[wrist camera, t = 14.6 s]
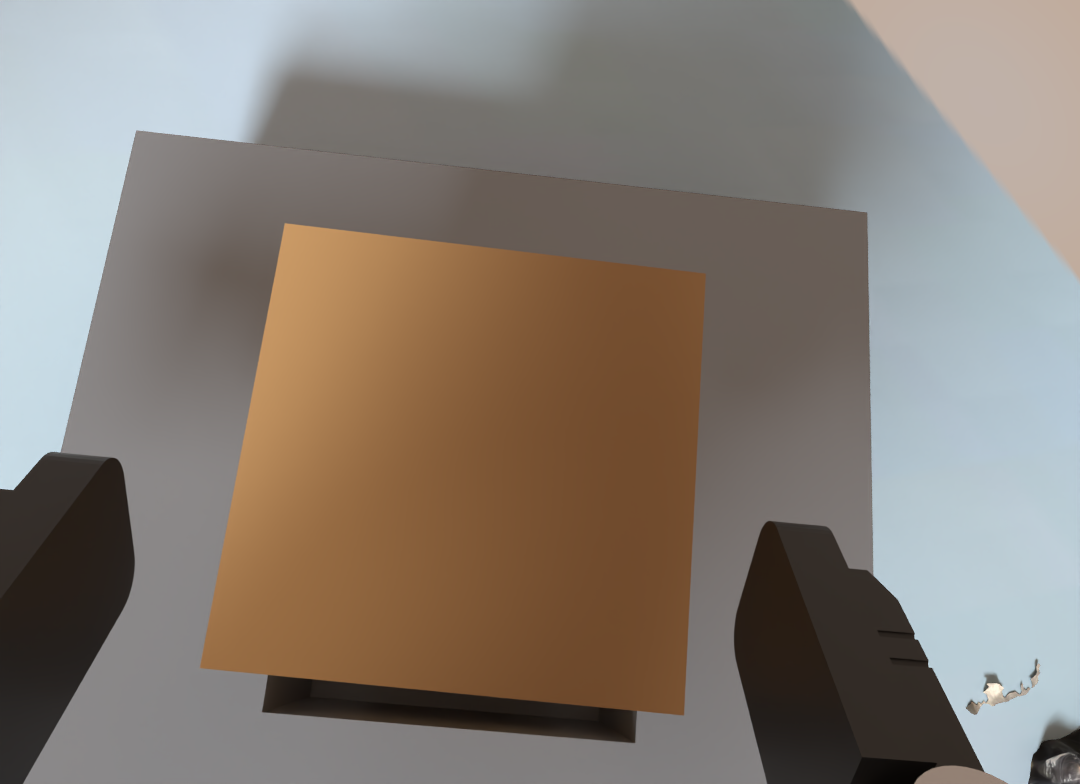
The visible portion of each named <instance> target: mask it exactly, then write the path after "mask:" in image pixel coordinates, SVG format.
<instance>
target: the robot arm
mask: <svg viewBox="0 0 1080 784" xmlns="http://www.w3.org/2000/svg"><path fill="white" fill-rule="evenodd" d="M134 570H135V554H134V546H133V538H132V531H131V523H130V515H129V508H128V500H127V493H126V485H125V477H124V472H123V468H122V465H121V463H120V462H119V460H118V459H116V458H112V457H102V456H91V455H80V454H70V453H59V452H50V453H47V454H46V455H44V456H43V457H42V458H41V459H40V460H39V462H38V463H37V464H36V465H35V466H34V467H33V468H32V470H31V471H30V472H29V473H28V474H27V475H26V476H25V478H24V479H23V480H22V481H21V482H20V483H19V484H18V486H17V487H16V488H15V489H14V490H5V489H0V784H23V783H24V781H25V779H26V777H27V776H28V774H29V772H30V771H31V769H32V767H33V765H34V764H35V762H36V760H37V758H38V757H39V755H40V753H41V751H42V750H43V748H44V746H45V744H46V743H47V741H48V739H49V738H50V736H51V734H52V732H53V731H54V729H55V727H56V725H57V724H58V722H59V720H60V718H61V717H62V715H63V713H64V711H65V710H66V708H67V706H68V704H69V703H70V701H71V699H72V698H73V696H74V694H75V692H76V691H77V689H78V687H79V685H80V684H81V682H82V680H83V678H84V677H85V675H86V673H87V671H88V670H89V668H90V666H91V665H92V663H93V661H94V659H95V658H96V656H97V654H98V652H99V651H100V649H101V647H102V645H103V644H104V642H105V640H106V638H107V637H108V635H109V633H110V631H111V630H112V628H113V626H114V625H115V623H116V621H117V619H118V618H119V616H120V614H121V612H122V611H123V609H124V607H125V605H126V603H127V600H128V598H129V595H130V591H131V588H132V583H133V578H134ZM914 634H915V633H914V631H913V629H912V627H911V625H910V623H909V621H908V619H907V617H906V615H905V613H904V611H903V609H902V607H901V605H900V603H899V601H898V600H897V599H896V598H895V597H894V596H893V595H892V594H891V593H890V592H889V591H888V590H887V589H886V588H885V587H884V586H883V585H882V584H881V583H880V582H879V581H878V580H877V579H876V578H875V577H874V576H873V575H872V574H871V573H870V572H869V571H868V570H861V569H850V568H848V565H847V563H846V561H845V559H844V557H843V554H842V552H841V550H840V548H839V546H838V543H837V541H836V539H835V537H834V535H833V533H832V531H831V530H830V529H829V528H828V527H827V526H819V525H808V524H798V523H787V522H776V521H768V522H766V523H765V524H764V526H763V527H762V529H761V531H760V534H759V537H758V541H757V544H756V548H755V551H754V554H753V558H752V561H751V564H750V568H749V571H748V575H747V578H746V581H745V585H744V588H743V592H742V595H741V598H740V602H739V605H738V609H737V613H736V618H735V626H734V651H735V659H736V663H737V667H738V671H739V675H740V679H741V683H742V687H743V691H744V695H745V699H746V703H747V706H748V710H749V714H750V718H751V722H752V726H753V730H754V734H755V738H756V742H757V746H758V750H759V754H760V757H761V761H762V765H763V769H764V773H765V777H766V781H767V784H1007V783H1006V782H1004V781H1002V780H1000V779H998V778H996V777H994V776H992V775H990V774H987V773H985V772H984V770H983V768H982V766H981V764H980V762H979V760H978V758H977V756H976V754H975V752H974V750H973V748H972V746H971V744H970V742H969V740H968V738H967V736H966V734H965V732H964V730H963V728H962V726H961V724H960V722H959V720H958V718H957V716H956V714H955V712H954V710H953V708H952V706H951V704H950V703H949V701H948V699H947V697H946V695H945V693H944V691H943V689H942V687H941V685H940V683H939V681H938V679H937V677H936V675H935V673H934V671H933V669H932V668H929V667H928V659H927V657H926V655H925V653H924V651H923V649H922V647H921V645H920V643H919V641H918V640H915V639H914Z"/></svg>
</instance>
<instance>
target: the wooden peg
mask: <svg viewBox="0 0 1080 784" xmlns="http://www.w3.org/2000/svg"><path fill="white" fill-rule="evenodd" d="M705 281H706V274H705V273H697V272H688V271H680V270H672V269H663V268H655V267H647V266H638V265H630V264H622V263H613V262H605V261H596V260H588V259H580V258H571V257H563V256H555V255H546V254H538V253H529V252H521V251H513V250H504V249H496V248H488V247H479V246H471V245H463V244H454V243H446V242H437V241H429V240H421V239H412V238H404V237H396V236H387V235H379V234H371V233H362V232H354V231H345V230H337V229H329V228H320V227H312V226H304V225H295V224H287V223H285V225H284V230H283V236H282V241H281V246H280V251H279V257H278V262H277V267H276V272H275V277H274V283H273V288H272V293H271V298H270V304H269V309H268V314H267V319H266V324H265V330H264V335H263V340H262V345H261V351H260V356H259V361H258V366H257V371H256V377H255V382H254V387H253V392H252V397H251V403H250V408H249V413H248V418H247V424H246V429H245V434H244V439H243V444H242V450H241V455H240V460H239V465H238V471H237V476H236V481H235V486H234V491H233V497H232V502H231V507H230V512H229V518H228V523H227V528H226V533H225V538H224V544H223V549H222V554H221V559H220V564H219V570H218V575H217V580H216V585H215V591H214V596H213V601H212V606H211V611H210V617H209V622H208V627H207V632H206V638H205V643H204V648H203V653H202V658H201V664H200V668H203V669H213V670H223V671H233V672H244V673H254V674H264V675H274V676H285V677H295V678H305V679H315V680H325V681H336V682H346V683H356V684H366V685H377V686H387V687H397V688H407V689H418V690H428V691H438V692H448V693H458V694H469V695H479V696H489V697H499V698H510V699H520V700H530V701H540V702H551V703H561V704H571V705H581V706H591V707H602V708H612V709H622V710H632V711H643V712H653V713H663V714H673V715H683V716H684V707H685V686H686V666H687V646H688V626H689V605H690V585H691V565H692V544H693V524H694V504H695V484H696V463H697V443H698V423H699V403H700V382H701V362H702V342H703V322H704V301H705Z"/></svg>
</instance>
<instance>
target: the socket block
mask: <svg viewBox="0 0 1080 784" xmlns="http://www.w3.org/2000/svg"><path fill="white" fill-rule="evenodd" d="M285 223H287V224H295V225H304V226H312V227H320V228H329V229H337V230H345V231H354V232H362V233H371V234H379V235H387V236H396V237H404V238H412V239H421V240H429V241H437V242H446V243H454V244H463V245H471V246H479V247H488V248H496V249H504V250H513V251H521V252H529V253H538V254H546V255H555V256H563V257H571V258H580V259H588V260H596V261H605V262H613V263H622V264H630V265H638V266H647V267H655V268H663V269H672V270H680V271H688V272H697V273H705V274H706V281H705V301H704V322H703V342H702V362H701V382H700V403H699V423H698V443H697V463H696V484H695V504H694V524H693V544H692V565H691V585H690V605H689V626H688V646H687V666H686V686H685V707H684V716H683V715H673V714H663V713H653V712H643V711H632V710H622V709H612V708H602V707H591V706H581V705H571V704H561V703H551V702H540V701H530V700H520V699H510V698H499V697H489V696H479V695H469V694H458V693H448V692H438V691H428V690H418V689H407V688H397V687H387V686H377V685H366V684H356V683H346V682H336V681H325V680H315V679H305V678H295V677H285V676H274V675H264V674H254V673H244V672H233V671H223V670H213V669H203V668H200V664H201V658H202V653H203V648H204V643H205V638H206V632H207V627H208V622H209V617H210V611H211V606H212V601H213V596H214V591H215V585H216V580H217V575H218V570H219V564H220V559H221V554H222V549H223V544H224V538H225V533H226V528H227V523H228V518H229V512H230V507H231V502H232V497H233V491H234V486H235V481H236V476H237V471H238V465H239V460H240V455H241V450H242V444H243V439H244V434H245V429H246V424H247V418H248V413H249V408H250V403H251V397H252V392H253V387H254V382H255V377H256V371H257V366H258V361H259V356H260V351H261V345H262V340H263V335H264V330H265V324H266V319H267V314H268V309H269V304H270V298H271V293H272V288H273V283H274V277H275V272H276V267H277V262H278V257H279V251H280V246H281V241H282V236H283V230H284V225H285ZM61 453H70V454H80V455H91V456H102V457H112V458H116V459H118V460H119V462H120V463H121V465H122V468H123V472H124V477H125V485H126V493H127V500H128V508H129V515H130V523H131V531H132V538H133V546H134V554H135V570H134V578H133V583H132V588H131V591H130V595H129V598H128V600H127V603H126V605H125V607H124V609H123V611H122V612H121V614H120V616H119V618H118V619H117V621H116V623H115V625H114V626H113V628H112V630H111V631H110V633H109V635H108V637H107V638H106V640H105V642H104V644H103V645H102V647H101V649H100V651H99V652H98V654H97V656H96V658H95V659H94V661H93V663H92V665H91V666H90V668H89V670H88V671H87V673H86V675H85V677H84V678H83V680H82V682H81V684H80V685H79V687H78V689H77V691H76V692H75V694H74V696H73V698H72V699H71V701H70V703H69V704H68V706H67V708H66V710H65V711H64V713H63V715H62V717H61V718H60V720H59V722H58V724H57V725H56V727H55V729H54V731H53V732H52V734H51V736H50V738H49V739H48V741H47V743H46V744H45V746H44V748H43V750H42V751H41V753H40V755H39V757H38V758H37V760H36V762H35V764H34V765H33V767H32V769H31V771H30V772H29V774H28V776H27V777H26V779H25V781H24V783H23V784H767V781H766V777H765V773H764V769H763V765H762V761H761V757H760V754H759V750H758V746H757V742H756V738H755V734H754V730H753V726H752V722H751V718H750V714H749V710H748V706H747V703H746V699H745V695H744V691H743V687H742V683H741V679H740V675H739V671H738V667H737V663H736V659H735V651H734V626H735V618H736V613H737V609H738V605H739V602H740V598H741V595H742V592H743V588H744V585H745V581H746V578H747V575H748V571H749V568H750V564H751V561H752V558H753V554H754V551H755V548H756V544H757V541H758V537H759V534H760V531H761V529H762V527H763V526H764V524H765V523H766V522H768V521H776V522H787V523H798V524H808V525H819V526H827V527H828V528H829V529H830V530H831V531H832V533H833V535H834V537H835V539H836V541H837V543H838V546H839V548H840V550H841V552H842V554H843V557H844V559H845V561H846V563H847V565H848V568H850V569H861V570H868V571H869V572H870V573H871V574H872V575H873V530H872V471H871V413H870V354H869V296H868V237H867V213H866V212H857V211H848V210H839V209H830V208H821V207H812V206H804V205H795V204H786V203H777V202H768V201H759V200H750V199H741V198H732V197H723V196H715V195H706V194H697V193H688V192H679V191H670V190H661V189H652V188H643V187H634V186H626V185H617V184H608V183H599V182H590V181H581V180H572V179H563V178H554V177H546V176H537V175H528V174H519V173H510V172H501V171H492V170H483V169H474V168H465V167H457V166H448V165H439V164H430V163H421V162H412V161H403V160H394V159H385V158H376V157H368V156H359V155H350V154H341V153H332V152H323V151H314V150H305V149H296V148H287V147H279V146H270V145H261V144H252V143H243V142H234V141H225V140H216V139H207V138H198V137H190V136H181V135H172V134H163V133H154V132H145V131H136V134H135V138H134V143H133V147H132V151H131V155H130V160H129V164H128V168H127V172H126V177H125V181H124V185H123V189H122V194H121V198H120V202H119V206H118V211H117V215H116V219H115V223H114V228H113V232H112V236H111V240H110V245H109V249H108V253H107V257H106V262H105V266H104V270H103V274H102V279H101V283H100V287H99V291H98V296H97V300H96V304H95V309H94V313H93V317H92V321H91V326H90V330H89V334H88V338H87V343H86V347H85V351H84V355H83V360H82V364H81V368H80V372H79V377H78V381H77V385H76V389H75V394H74V398H73V402H72V406H71V411H70V415H69V419H68V423H67V428H66V432H65V436H64V440H63V445H62V449H61Z"/></svg>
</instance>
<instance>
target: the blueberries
mask: <svg viewBox="0 0 1080 784" xmlns="http://www.w3.org/2000/svg"><path fill="white" fill-rule="evenodd" d="M1039 667H1040V664H1038V665H1037V666H1036V668H1037V673H1036V675H1035V676H1034V677H1033V678H1032V679H1031V681H1032V685H1033V686H1032V688H1033V687H1034V686H1035V685H1036V684H1037V682H1038V675H1039V674H1040V672H1039ZM987 685H988V686H989V687H988V689H987V690H986V691H984V693H985V694H987V696H988V701H987V703H986V702H984V701H983V703H982V704H984V703H986V704H990V705H991V706H995V704H998V703H1002V702H1007V701H1009V700H1010V699H1013V698H1015V697H1017V696H1022V695H1026V694H1027V693H1028V691H1029V690H1030V688H1028V689H1027V691H1026V690H1025V689H1024V688H1023V683H1022V685H1021V690H1022V693H1021V694H1020V695H1019V694H1018V693H1017V692H1013V693H1009V694H1008V695H1007V696H1006V698H1004V697H1003V695H1002V690H1003V687H1002V686H1001V685H1000V684H997V683H987ZM982 704H981V703H979V702H978V705H976V704H974V703H973V702H971V704H970V705H968V707H966V709H968V710H969V711H970V712H971V713H972V714H974V715H975V714H977V713H978V711H979V708H980V707H981V706H982ZM1028 784H1080V729H1079V730H1076V731H1074V732H1073V733H1071V734H1069V735H1067V736H1065V737H1063V738H1061V739H1056V740H1047V741H1044V742H1042V743H1041V746H1040V748H1039V749H1038V750H1037V752H1035V753H1034V755H1033V758H1032V762H1031V772H1030V778H1029V782H1028Z"/></svg>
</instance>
